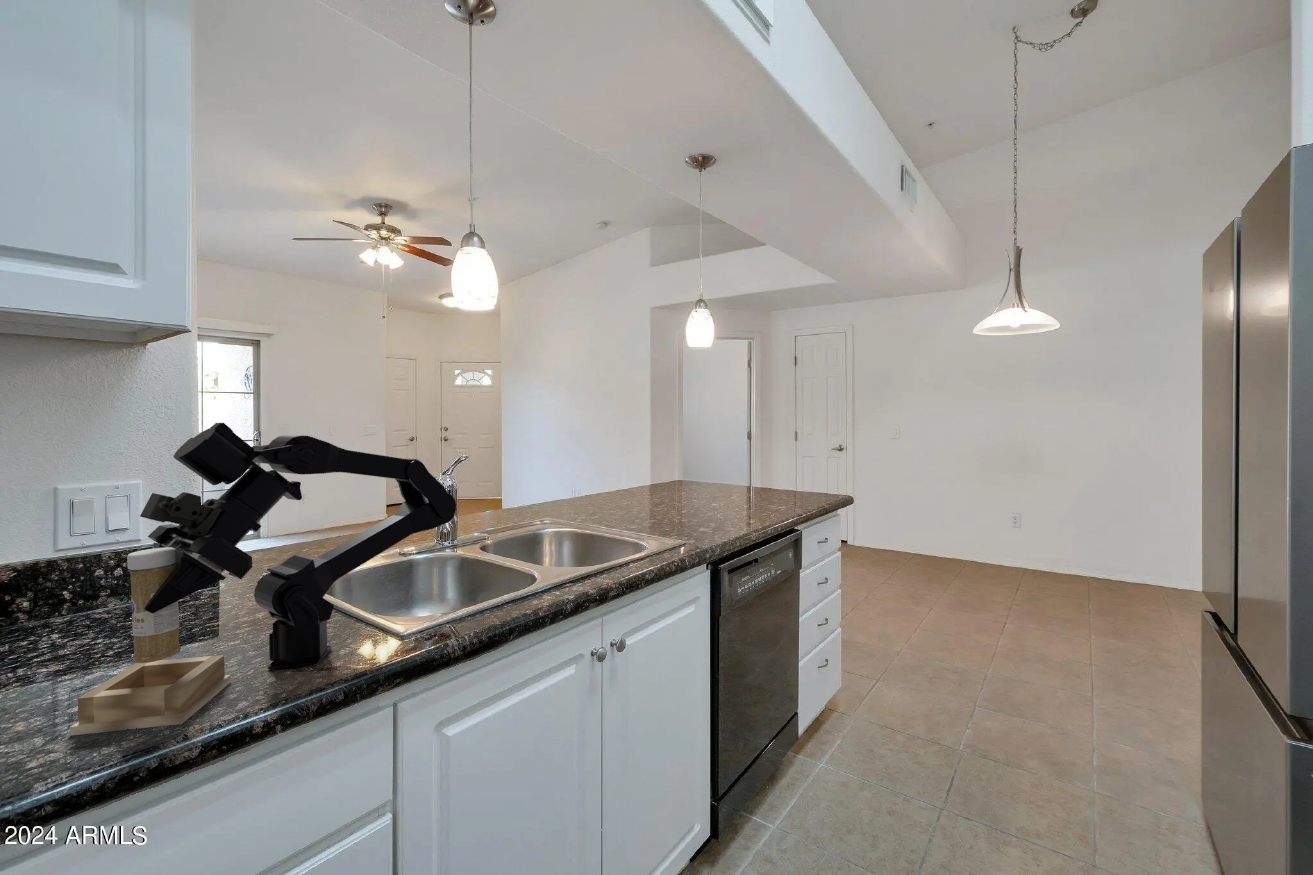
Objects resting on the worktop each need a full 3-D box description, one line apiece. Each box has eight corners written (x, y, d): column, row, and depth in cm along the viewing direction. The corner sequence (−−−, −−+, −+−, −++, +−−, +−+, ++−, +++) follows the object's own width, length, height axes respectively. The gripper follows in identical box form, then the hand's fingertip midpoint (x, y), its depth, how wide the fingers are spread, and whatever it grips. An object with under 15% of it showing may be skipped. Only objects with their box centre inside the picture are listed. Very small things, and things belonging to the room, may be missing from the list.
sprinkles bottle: (126, 661, 69) (119, 553, 69) (170, 647, 73) (164, 545, 73) (144, 666, 67) (138, 555, 67) (189, 652, 71) (183, 547, 71)
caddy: (230, 681, 77) (230, 653, 77) (182, 723, 66) (181, 690, 66) (136, 690, 74) (135, 661, 74) (70, 735, 64) (69, 701, 64)
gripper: (164, 466, 78) (54, 562, 69) (218, 472, 68) (96, 586, 59) (233, 514, 85) (141, 607, 76) (292, 525, 74) (192, 634, 66)
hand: (141, 607), depth 69 cm, fingers closed on sprinkles bottle, 4 cm apart
